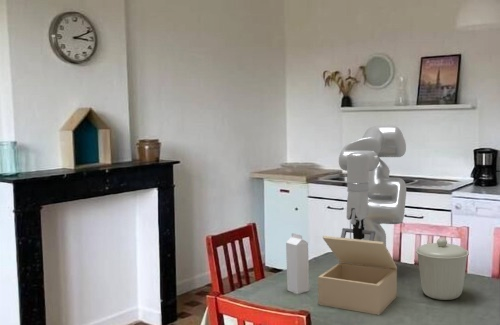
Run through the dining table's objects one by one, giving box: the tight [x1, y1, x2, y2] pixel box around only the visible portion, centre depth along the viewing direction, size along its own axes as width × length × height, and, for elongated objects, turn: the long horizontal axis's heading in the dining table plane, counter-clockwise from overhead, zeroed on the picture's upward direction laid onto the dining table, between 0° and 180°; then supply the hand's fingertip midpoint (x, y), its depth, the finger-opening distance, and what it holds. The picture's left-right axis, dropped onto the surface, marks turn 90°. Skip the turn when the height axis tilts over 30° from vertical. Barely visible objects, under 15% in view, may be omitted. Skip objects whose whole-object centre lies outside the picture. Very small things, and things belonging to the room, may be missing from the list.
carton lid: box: [322, 227, 398, 270], centre depth 199 cm, size 20×22×6 cm
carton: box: [317, 262, 398, 316], centre depth 196 cm, size 20×22×10 cm
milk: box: [285, 232, 310, 295], centre depth 208 cm, size 6×6×22 cm
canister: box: [415, 237, 470, 301], centre depth 198 cm, size 18×18×21 cm
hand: (358, 238), depth 196 cm, fingers closed
